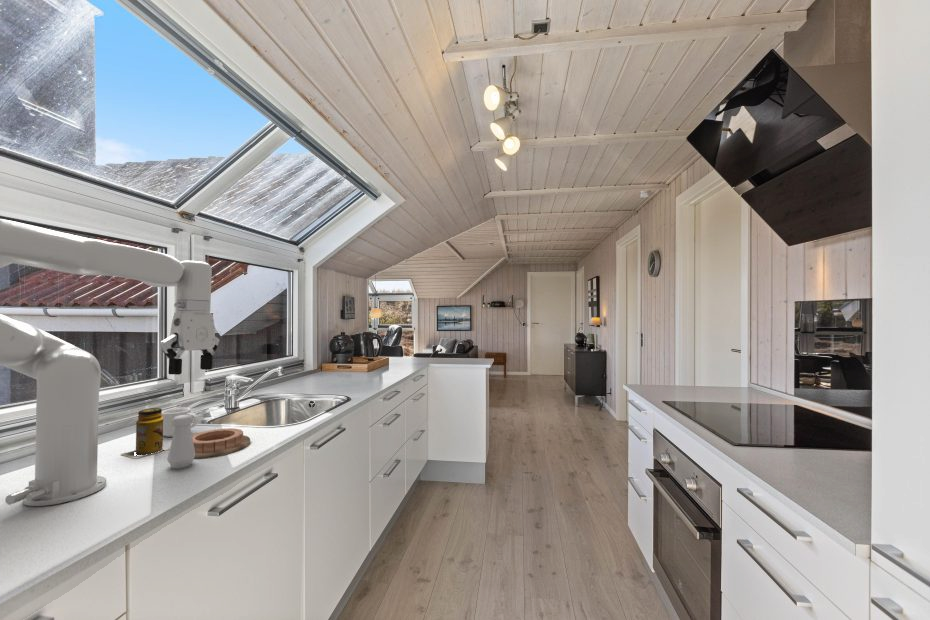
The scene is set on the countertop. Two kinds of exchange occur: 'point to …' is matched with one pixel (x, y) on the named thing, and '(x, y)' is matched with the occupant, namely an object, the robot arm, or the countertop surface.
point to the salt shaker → (181, 443)
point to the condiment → (148, 433)
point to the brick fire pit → (219, 442)
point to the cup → (170, 414)
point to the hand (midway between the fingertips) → (191, 371)
